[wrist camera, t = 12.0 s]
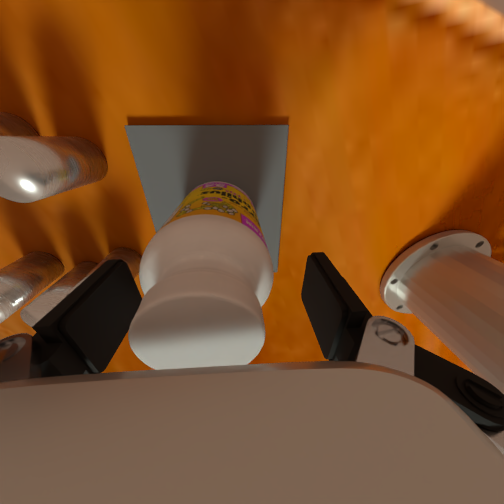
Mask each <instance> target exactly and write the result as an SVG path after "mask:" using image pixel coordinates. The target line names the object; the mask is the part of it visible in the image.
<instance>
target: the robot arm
mask: <svg viewBox="0 0 504 504" xmlns="http://www.w3.org/2000/svg"><path fill="white" fill-rule="evenodd" d="M380 294H381V298H382V299H383V301H384V302H385V303H386V304H387V305H388V306H389V307H390V308H391V309H393V310H394V311H397V312H401V313H413V314H414V315H415V316H416V317H417V318H418V319H419V320H420V321H421V322H422V323H423V324H424V325H425V326H427V327H428V328H429V329H430V330H431V331H432V332H433V333H434V334H435V335H436V336H437V337H438V338H439V339H440V340H441V341H442V342H443V343H444V344H445V345H446V346H447V347H448V348H449V349H450V350H451V351H452V352H453V353H454V354H455V355H456V356H457V357H458V358H459V359H460V360H461V361H462V362H463V363H465V364H466V365H467V366H468V367H469V368H470V369H471V370H472V371H473V372H474V373H475V374H476V375H475V374H473V373H471V372H469V371H467V370H465V369H463V368H461V367H459V366H457V365H455V364H453V363H451V362H449V361H447V360H445V359H443V358H441V357H439V356H437V355H435V354H433V353H431V352H429V351H427V350H425V349H423V348H421V347H419V346H417V345H415V343H414V338H413V336H412V335H411V333H410V332H409V331H408V330H407V329H406V328H405V327H404V326H403V325H402V324H400V323H399V322H397V321H395V320H393V319H391V318H388V317H384V316H372V315H371V313H370V312H369V311H368V309H367V308H366V307H365V305H364V304H363V303H362V301H361V300H360V299H359V297H358V296H357V295H356V294H355V292H354V291H353V290H352V288H351V287H350V286H349V284H348V283H347V282H346V280H345V279H344V278H343V277H342V276H341V275H340V273H339V272H338V271H337V269H336V268H335V267H334V265H333V264H332V263H331V261H330V260H329V259H328V257H327V256H326V255H325V253H323V252H317V253H312V254H311V255H309V256H308V258H307V263H306V269H305V275H304V281H303V287H302V293H301V297H302V301H303V304H304V306H305V309H306V311H307V314H308V317H309V319H310V322H311V324H312V327H313V330H314V332H315V335H316V337H317V340H318V342H319V345H320V348H321V350H322V353H323V355H324V357H325V359H329V361H314V362H287V363H268V364H249V365H231V366H213V367H196V368H178V369H162V370H145V371H129V372H113V373H101V372H103V371H104V370H105V369H106V367H107V365H108V364H109V362H110V360H111V359H112V357H113V355H114V354H115V352H116V350H117V349H118V347H119V345H120V343H121V342H122V340H123V338H124V337H125V335H126V333H127V332H128V330H129V328H130V324H131V322H132V320H133V318H134V316H135V314H136V312H137V310H138V308H139V306H140V304H141V301H142V298H141V295H140V293H139V290H138V288H137V286H136V283H135V281H134V278H133V276H132V274H131V271H130V269H129V266H128V264H127V263H126V262H124V261H123V260H121V259H112V260H107V261H105V262H104V263H103V264H102V265H101V266H100V267H99V268H98V269H96V270H95V271H94V272H93V273H92V274H91V275H90V276H89V277H88V278H86V279H85V280H84V281H83V282H82V283H81V284H80V285H79V286H77V287H76V288H75V289H74V290H73V291H72V292H71V293H70V294H68V295H67V296H66V297H65V298H64V299H63V300H62V301H61V302H59V303H58V304H57V305H56V306H55V307H54V308H53V309H52V310H51V311H49V312H48V313H47V314H46V315H45V316H44V317H43V318H42V319H40V320H39V321H38V322H37V323H36V324H35V325H34V326H33V327H32V328H33V329H34V330H35V331H36V332H37V333H36V334H35V335H34V336H33V337H32V336H31V335H29V334H27V333H21V334H16V335H12V336H9V337H6V338H4V339H2V340H0V504H504V263H502V262H500V261H498V260H495V259H493V258H491V246H490V244H489V242H488V240H487V239H486V238H484V237H483V236H481V235H479V234H476V233H474V232H471V231H467V230H449V231H445V232H440V233H438V234H435V235H432V236H429V237H427V238H425V239H423V240H421V241H419V242H417V243H416V244H414V245H413V246H411V247H410V248H408V249H407V250H406V251H404V252H403V253H402V254H401V255H400V256H398V258H397V259H396V260H395V261H394V262H393V263H392V264H391V265H390V267H389V268H388V269H387V271H386V273H385V275H384V277H383V278H382V282H381V285H380Z"/></svg>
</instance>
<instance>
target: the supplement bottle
mask: <svg viewBox="0 0 504 504" xmlns="http://www.w3.org/2000/svg"><path fill="white" fill-rule="evenodd" d="M139 277H140V284H141V287H142V290H143V293H144V297H143V299H142V301H141V304H140V306H139V308H138V310H137V312H136V314H135V316H134V318H133V320H132V322H131V324H130V328H129V334H128V338H129V343H130V346H131V348H132V350H133V352H134V353H135V354H136V356H137V357H138V358H139V359H140V360H141V361H142V362H144V363H145V364H147V365H148V366H150V367H152V368H154V369H156V370H162V369H178V368H196V367H213V366H231V365H247V364H248V363H250V362H251V361H252V360H253V359H254V358H255V357H256V356H257V355H258V353H259V352H260V350H261V348H262V346H263V344H264V340H265V326H264V320H263V314H262V309H261V307H262V305H263V304H264V303H265V301H266V300H267V298H268V296H269V294H270V291H271V288H272V284H273V265H272V260H271V257H270V254H269V251H268V248H267V245H266V242H265V239H264V236H263V233H262V230H261V227H260V224H259V220H258V217H257V214H256V211H255V208H254V206H253V203H252V201H251V200H250V198H249V197H248V196H247V194H246V193H245V192H244V191H242V190H241V189H240V188H238V187H237V186H235V185H232V184H230V183H226V182H221V181H213V182H207V183H204V184H202V185H199V186H198V187H196V188H195V189H193V190H192V191H191V192H190V193H189V194H188V195H187V196H186V198H185V199H184V200H183V201H182V203H181V204H180V205H179V206H178V207H177V209H176V210H175V211H174V212H173V214H172V215H171V216H170V217H169V219H168V220H167V221H166V222H165V223H164V225H163V226H162V227H161V228H160V229H159V231H158V232H157V233H156V234H155V235H154V237H153V238H152V240H151V241H150V242H149V244H148V245H147V247H146V249H145V251H144V253H143V256H142V259H141V262H140V269H139Z"/></svg>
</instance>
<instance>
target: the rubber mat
mask: <svg viewBox="0 0 504 504" xmlns="http://www.w3.org/2000/svg"><path fill="white" fill-rule="evenodd" d="M288 127H289V125H131V126H125V129H126V133H127V136H128V139H129V143H130V146H131V149H132V153H133V156H134V159H135V163H136V166H137V170H138V173H139V176H140V180H141V183H142V186H143V190H144V193H145V196H146V200H147V203H148V207H149V210H150V213H151V217H152V220H153V223H154V227H155V230H156V233H157V232H158V231H159V229H160V228H161V227H162V226H163V225H164V223H165V222H166V221H167V220H168V219H169V217H170V216H171V215H172V214H173V212H174V211H175V210H176V209H177V207H178V206H179V205H180V204H181V203H182V201H183V200H184V199H185V198H186V196H187V195H188V194H189V193H190V192H191V191H192V190H193V189H195V188H196V187H198V186H199V185H202V184H204V183H207V182H213V181H221V182H226V183H230V184H232V185H235V186H237V187H238V188H240V189H241V190H242V191H244V192H245V193H246V194H247V196H248V197H249V198H250V200H251V201H252V203H253V206H254V208H255V211H256V214H257V217H258V220H259V224H260V227H261V230H262V233H263V236H264V239H265V242H266V245H267V248H268V251H269V254H270V257H271V260H272V265H273V272H277V268H278V255H279V242H280V229H281V216H282V204H283V191H284V178H285V165H286V152H287V140H288Z"/></svg>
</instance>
